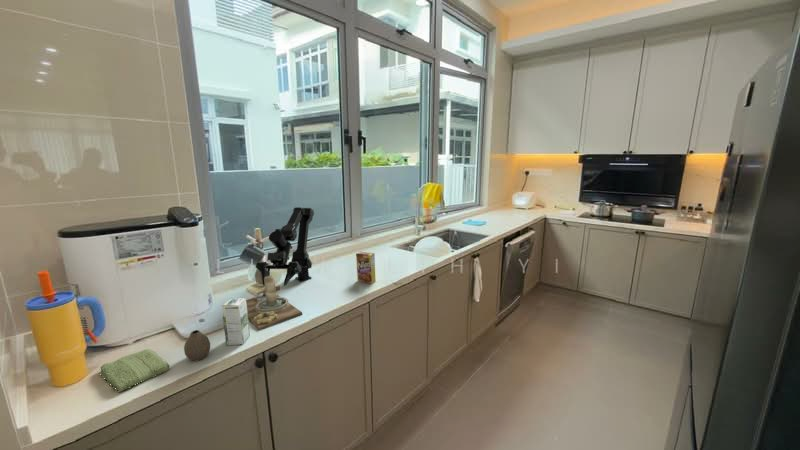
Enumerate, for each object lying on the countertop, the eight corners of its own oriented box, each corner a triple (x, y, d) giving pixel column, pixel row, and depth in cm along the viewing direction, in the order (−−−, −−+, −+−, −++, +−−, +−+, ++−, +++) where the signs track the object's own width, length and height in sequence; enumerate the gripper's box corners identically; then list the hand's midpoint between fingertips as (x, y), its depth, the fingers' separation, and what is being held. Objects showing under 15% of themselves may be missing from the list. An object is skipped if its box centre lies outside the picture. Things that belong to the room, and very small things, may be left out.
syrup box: (233, 336, 109) (228, 298, 106) (250, 335, 109) (246, 297, 106) (226, 346, 103) (220, 305, 100) (244, 344, 104) (238, 304, 101)
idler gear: (263, 303, 132) (260, 275, 130) (282, 301, 135) (280, 273, 132) (261, 312, 125) (257, 282, 122) (281, 309, 127) (278, 279, 124)
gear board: (234, 305, 134) (233, 298, 133) (273, 293, 145) (272, 287, 145) (258, 330, 113) (258, 322, 112) (302, 314, 124) (301, 307, 124)
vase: (216, 352, 99) (213, 328, 98) (196, 365, 93) (192, 339, 91) (201, 349, 102) (197, 324, 100) (180, 361, 95) (176, 335, 94)
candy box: (356, 281, 159) (355, 253, 156) (361, 278, 163) (360, 251, 160) (371, 284, 155) (370, 255, 152) (375, 281, 159) (374, 252, 156)
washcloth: (151, 352, 101) (149, 343, 101) (173, 370, 92) (171, 361, 91) (97, 374, 91) (95, 364, 90) (115, 398, 81) (113, 387, 80)
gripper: (254, 244, 134) (244, 277, 125) (296, 244, 133) (288, 277, 124) (265, 256, 143) (256, 287, 134) (304, 256, 142) (297, 288, 133)
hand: (274, 285), depth 131 cm, fingers open, 9 cm apart
